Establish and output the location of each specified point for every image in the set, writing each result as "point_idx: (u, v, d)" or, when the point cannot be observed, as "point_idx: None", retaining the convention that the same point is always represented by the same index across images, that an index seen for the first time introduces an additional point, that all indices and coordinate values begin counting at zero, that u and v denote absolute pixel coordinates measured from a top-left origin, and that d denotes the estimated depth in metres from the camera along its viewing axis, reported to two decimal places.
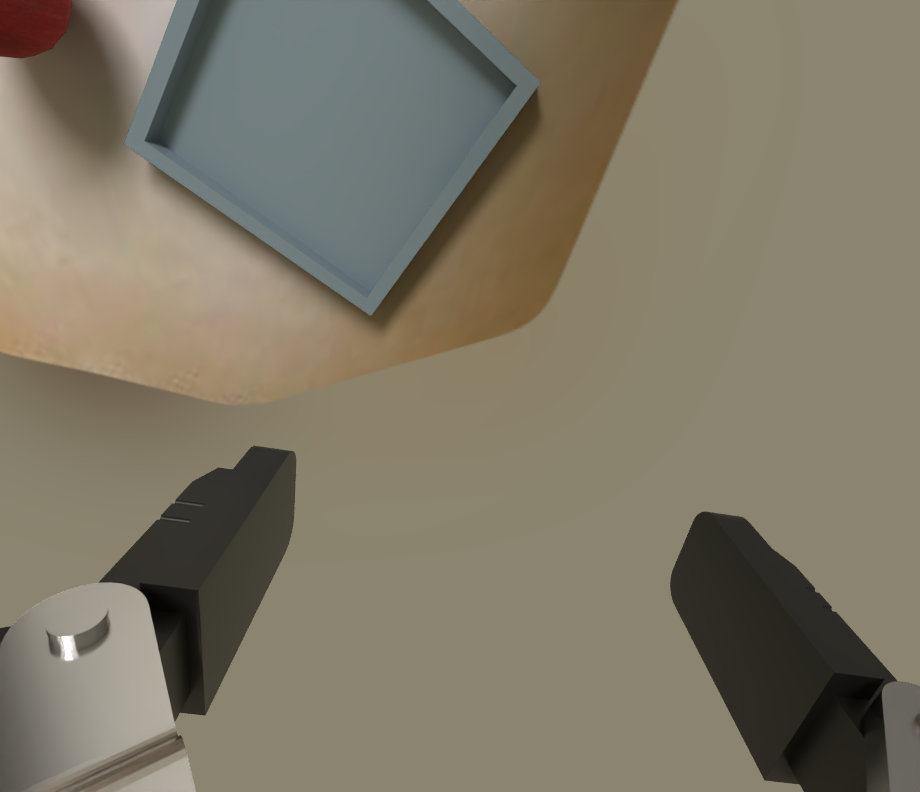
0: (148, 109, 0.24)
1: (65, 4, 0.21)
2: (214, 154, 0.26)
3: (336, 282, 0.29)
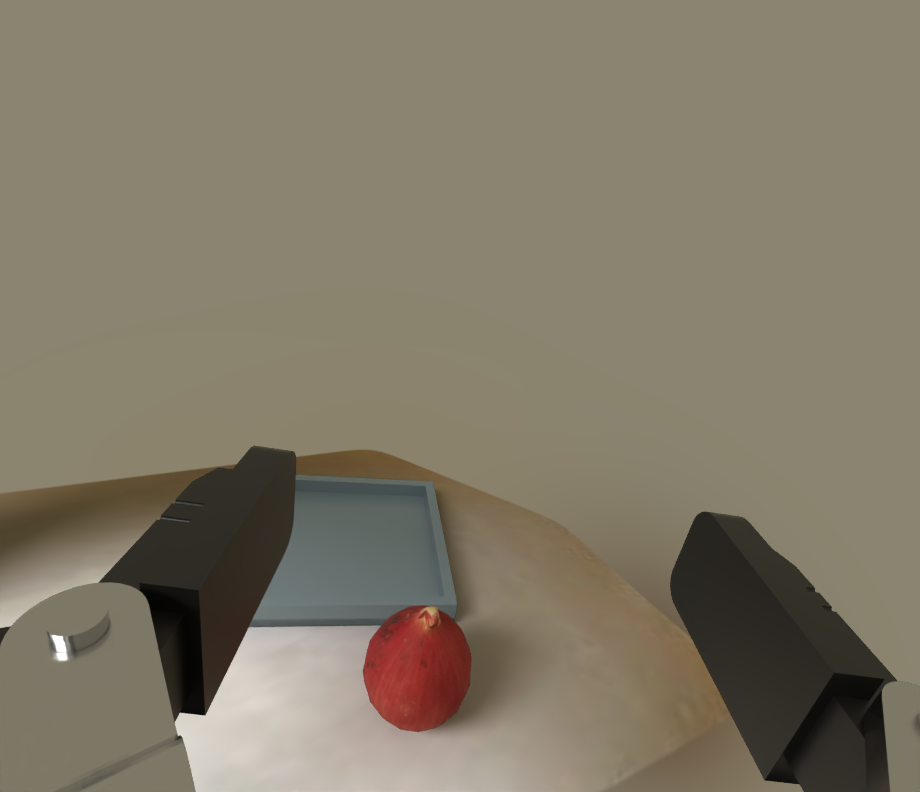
0: (423, 599, 0.34)
1: None
2: (420, 579, 0.37)
3: (430, 498, 0.45)
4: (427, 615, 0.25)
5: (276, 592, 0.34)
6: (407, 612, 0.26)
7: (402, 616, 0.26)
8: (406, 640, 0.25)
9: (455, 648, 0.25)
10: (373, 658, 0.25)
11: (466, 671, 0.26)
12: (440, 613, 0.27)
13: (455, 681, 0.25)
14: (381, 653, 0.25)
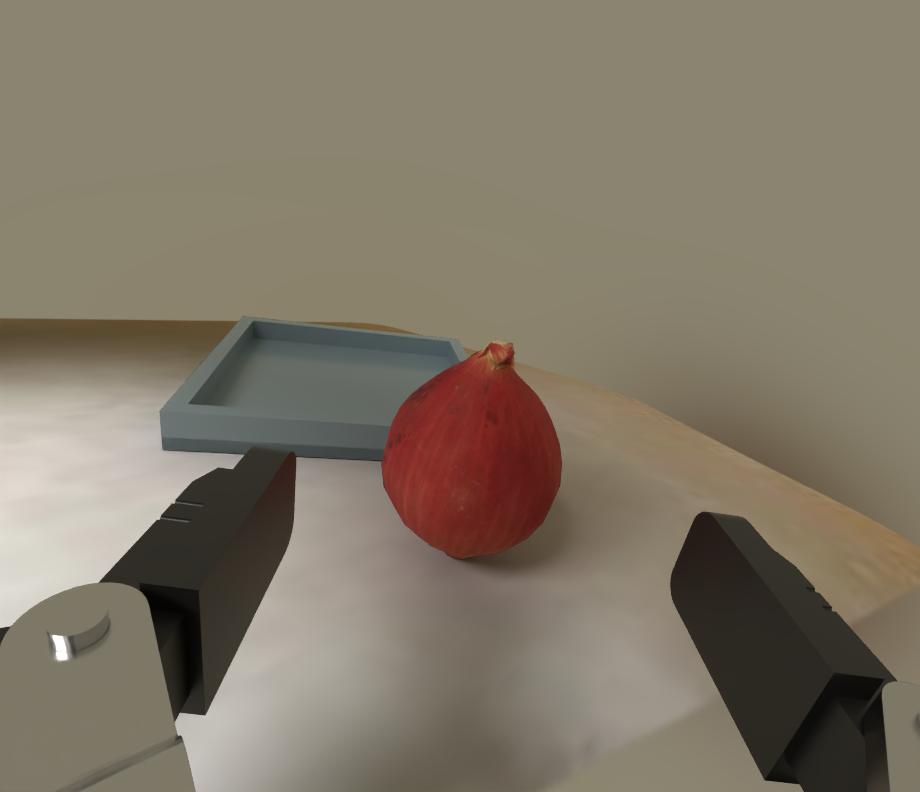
0: None
1: None
2: None
3: (457, 350, 0.34)
4: (495, 347, 0.14)
5: None
6: (454, 364, 0.16)
7: (447, 369, 0.16)
8: (458, 387, 0.14)
9: (540, 410, 0.15)
10: (401, 429, 0.15)
11: (558, 454, 0.15)
12: None
13: (544, 458, 0.14)
14: (415, 416, 0.15)
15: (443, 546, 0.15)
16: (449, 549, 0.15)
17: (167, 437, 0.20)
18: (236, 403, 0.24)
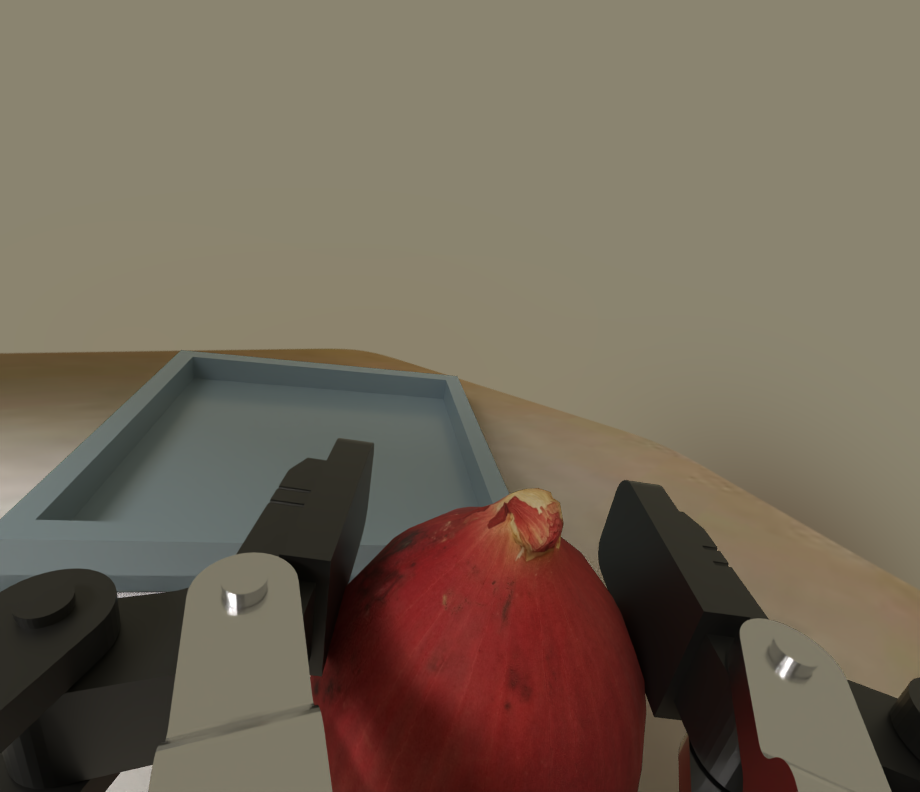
0: None
1: None
2: (448, 509, 0.19)
3: (456, 393, 0.27)
4: (525, 512, 0.07)
5: (143, 522, 0.16)
6: (443, 518, 0.08)
7: (429, 530, 0.08)
8: (447, 599, 0.07)
9: (612, 630, 0.07)
10: (334, 665, 0.07)
11: (642, 706, 0.08)
12: None
13: (626, 747, 0.07)
14: (360, 648, 0.07)
15: None
16: None
17: None
18: (135, 495, 0.17)
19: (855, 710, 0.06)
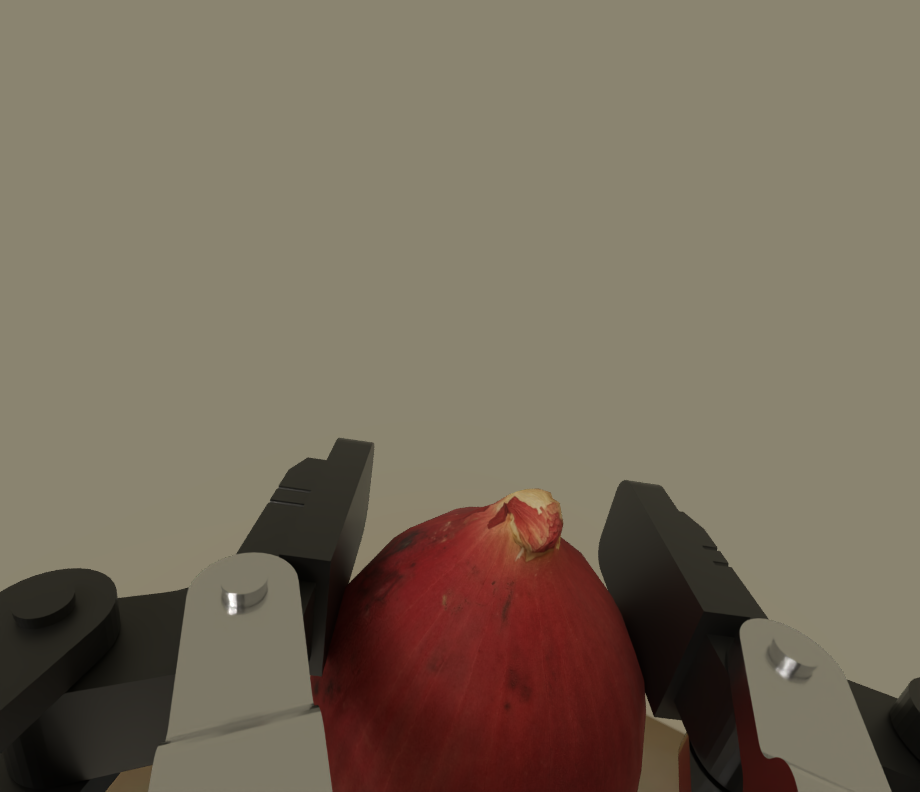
0: None
1: None
2: None
3: None
4: (525, 512, 0.07)
5: None
6: (443, 518, 0.08)
7: (429, 529, 0.08)
8: (447, 599, 0.07)
9: (611, 630, 0.07)
10: (334, 665, 0.07)
11: (642, 706, 0.08)
12: None
13: (626, 747, 0.07)
14: (361, 647, 0.07)
15: None
16: None
17: None
18: None
19: (855, 710, 0.06)
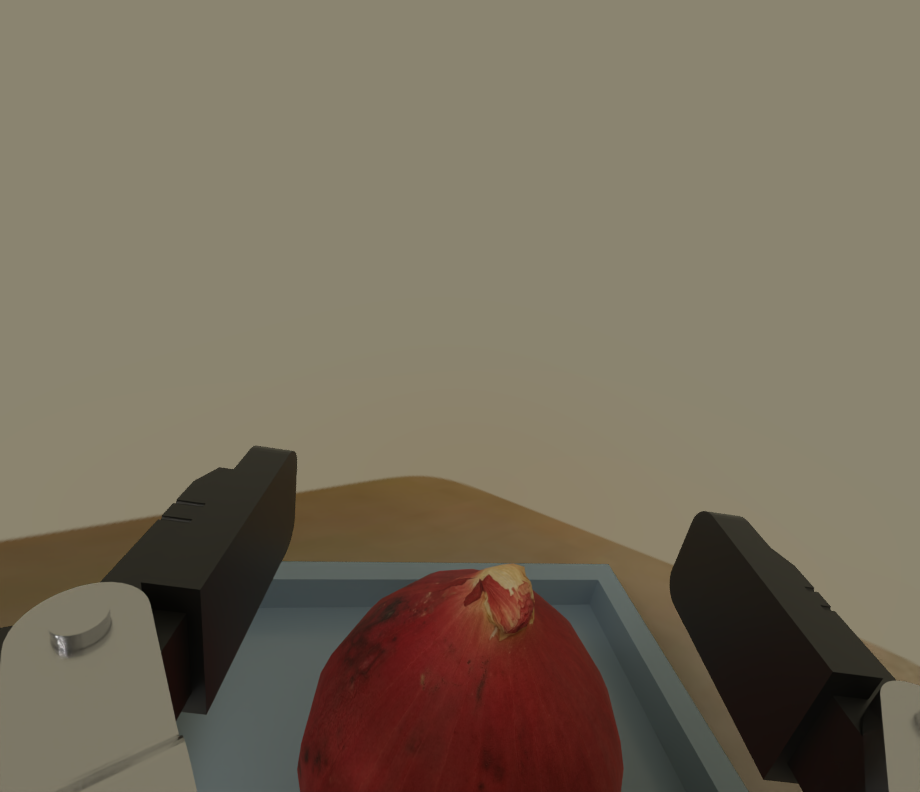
0: None
1: None
2: None
3: (630, 622, 0.16)
4: (496, 592, 0.07)
5: None
6: (425, 587, 0.09)
7: (412, 599, 0.09)
8: (425, 679, 0.07)
9: (585, 698, 0.08)
10: (322, 736, 0.08)
11: (618, 767, 0.08)
12: None
13: None
14: (345, 722, 0.08)
15: None
16: None
17: None
18: None
19: None
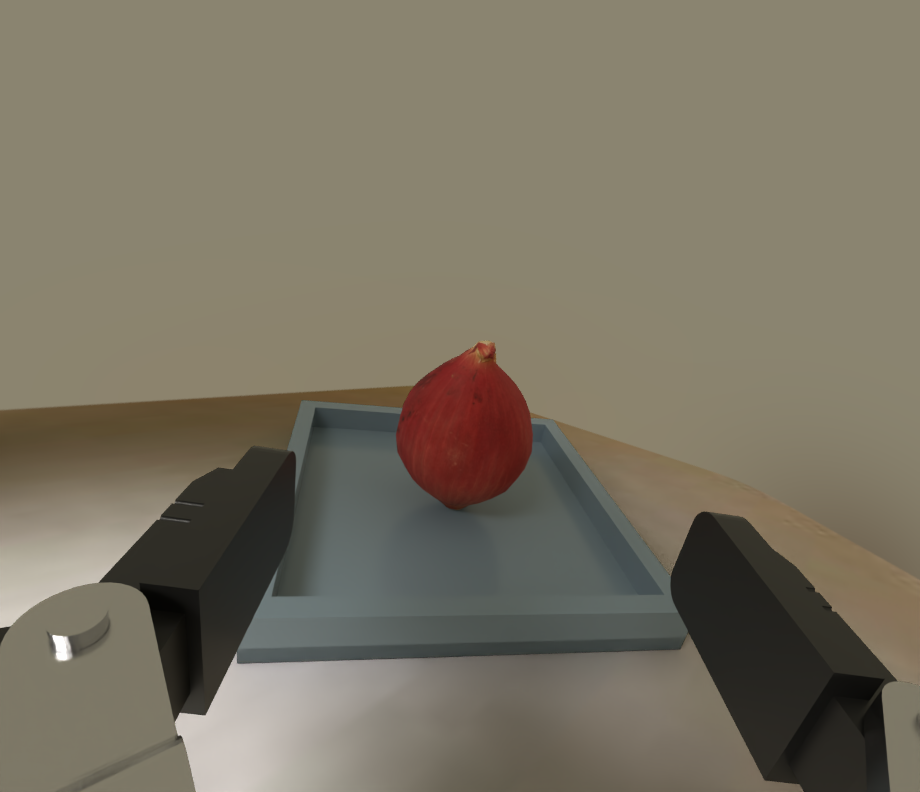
0: (631, 602, 0.17)
1: None
2: (593, 566, 0.20)
3: (560, 440, 0.28)
4: (481, 345, 0.19)
5: (340, 588, 0.17)
6: None
7: (446, 362, 0.21)
8: (453, 375, 0.19)
9: (515, 393, 0.20)
10: (411, 406, 0.20)
11: (529, 427, 0.20)
12: None
13: (517, 428, 0.19)
14: (421, 397, 0.20)
15: (442, 494, 0.20)
16: (446, 497, 0.20)
17: (244, 649, 0.14)
18: (321, 560, 0.18)
19: None
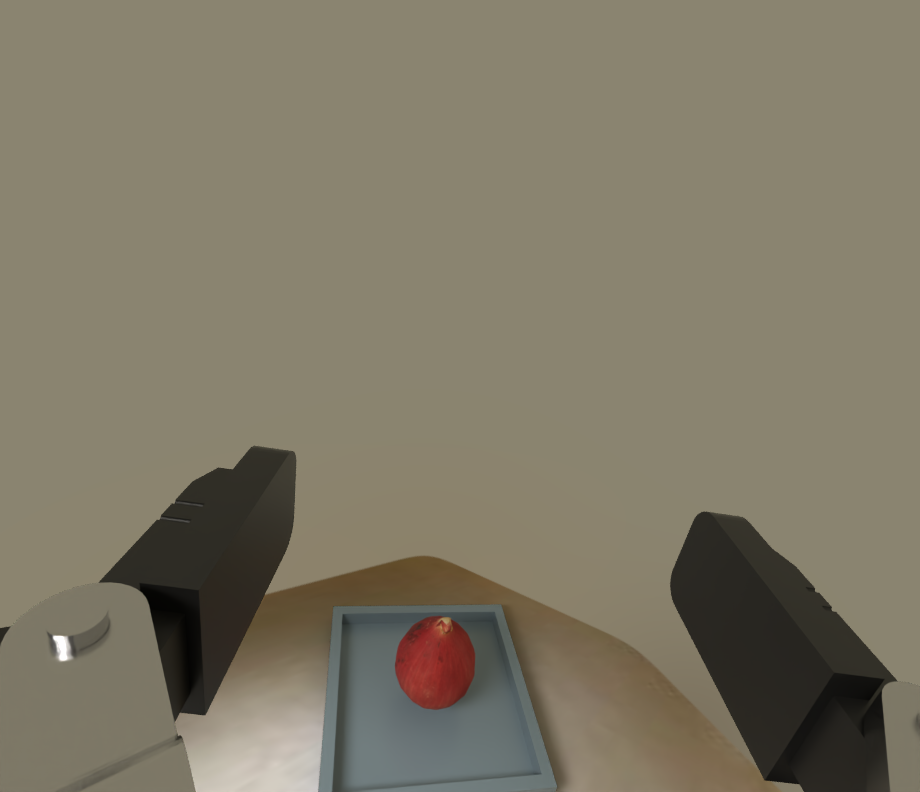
0: (521, 781, 0.32)
1: None
2: (509, 744, 0.35)
3: (503, 629, 0.43)
4: (443, 624, 0.34)
5: (364, 775, 0.32)
6: (427, 621, 0.35)
7: (424, 624, 0.35)
8: (427, 642, 0.34)
9: (463, 648, 0.34)
10: (403, 655, 0.34)
11: (471, 665, 0.35)
12: (452, 622, 0.36)
13: (463, 672, 0.34)
14: (409, 651, 0.34)
15: (421, 706, 0.34)
16: None
17: None
18: (353, 753, 0.33)
19: None
